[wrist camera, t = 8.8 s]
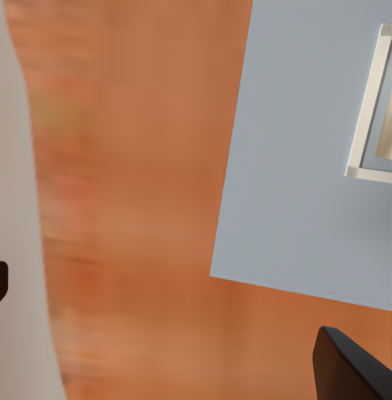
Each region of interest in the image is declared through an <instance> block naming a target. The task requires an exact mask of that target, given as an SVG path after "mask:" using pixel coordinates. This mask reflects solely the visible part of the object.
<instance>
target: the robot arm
mask: <svg viewBox="0 0 392 400" xmlns="http://www.w3.org/2000/svg"><path fill="white" fill-rule="evenodd" d="M7 290H8V265H7V264H6V262H4V261H0V301H1V300H2V299H3V298H4V296H5V295H6V293H7ZM313 369H314V376H315V384H316V391H317V399H318V400H392V371H391V370H390V369H389V368H387V367H386V366H385V365H383V364H382V363H381V362H380V361H378V360H377V359H376V358H374V357H373V356H372V355H371V354H369V353H368V352H367V351H365V350H364V349H363V348H362V347H360V346H359V345H358V344H356V343H355V342H354V341H353V340H351V339H350V338H349V337H347V336H346V335H345V334H344V333H342V332H341V331H340V330H338V329H336V328H332V327H327V326H321V327H320V329H319V331H318V335H317V339H316V343H315V347H314V351H313Z"/></svg>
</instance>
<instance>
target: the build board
mask: <svg viewBox="0 0 392 400" xmlns="http://www.w3.org/2000/svg"><path fill="white" fill-rule="evenodd" d="M391 91H392V0H253V7H252V13H251V19H250V25H249V32H248V38H247V44H246V51H245V57H244V63H243V69H242V76H241V82H240V88H239V95H238V101H237V107H236V113H235V120H234V126H233V132H232V138H231V145H230V151H229V157H228V164H227V170H226V176H225V182H224V189H223V195H222V201H221V207H220V214H219V220H218V226H217V233H216V239H215V245H214V251H213V258H212V264H211V270H210V276H212V277H217V278H222V279H228V280H233V281H238V282H243V283H248V284H254V285H259V286H264V287H269V288H274V289H279V290H285V291H290V292H295V293H300V294H305V295H311V296H316V297H321V298H326V299H331V300H337V301H342V302H347V303H352V304H357V305H363V306H368V307H373V308H378V309H383V310H388V311H392V160H390V159H385V158H379V157H374V156H375V152H376V148H377V144H378V140H379V137H380V133H381V129H382V125H383V121H384V118H385V114H386V110H387V106H388V102H389V98H390V95H391Z"/></svg>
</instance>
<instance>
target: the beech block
mask: <svg viewBox="0 0 392 400" xmlns="http://www.w3.org/2000/svg"><path fill="white" fill-rule="evenodd" d="M374 157H379V158H385V159H390V160H392V91H391V95H390V98H389V102H388V106H387V110H386V114H385V118H384V121H383V125H382V129H381V133H380V137H379V140H378V144H377V148H376V152H375V156H374Z"/></svg>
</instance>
